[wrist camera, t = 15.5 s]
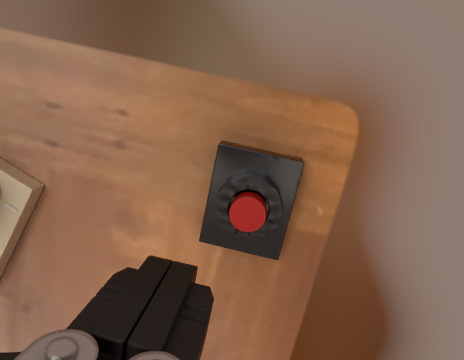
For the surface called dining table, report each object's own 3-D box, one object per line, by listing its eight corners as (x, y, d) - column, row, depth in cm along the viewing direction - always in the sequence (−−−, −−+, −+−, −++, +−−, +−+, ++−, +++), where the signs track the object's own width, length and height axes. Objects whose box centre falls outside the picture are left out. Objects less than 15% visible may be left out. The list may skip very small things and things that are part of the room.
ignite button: (235, 187, 30) (233, 193, 28) (270, 196, 30) (270, 201, 28) (227, 220, 31) (225, 227, 29) (261, 228, 31) (261, 236, 29)
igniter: (221, 140, 33) (215, 145, 29) (302, 158, 33) (306, 166, 29) (203, 233, 35) (195, 249, 32) (277, 250, 35) (278, 269, 31)
